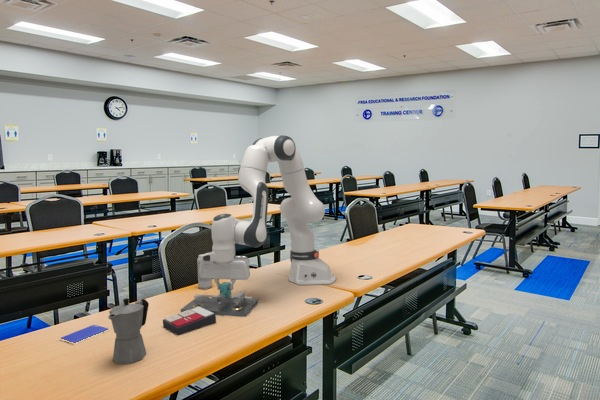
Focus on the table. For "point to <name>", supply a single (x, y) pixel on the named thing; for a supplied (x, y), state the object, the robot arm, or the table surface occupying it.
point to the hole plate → (224, 304)
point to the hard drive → (84, 333)
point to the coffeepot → (129, 331)
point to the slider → (223, 292)
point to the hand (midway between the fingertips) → (225, 289)
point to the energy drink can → (201, 282)
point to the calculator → (189, 320)
